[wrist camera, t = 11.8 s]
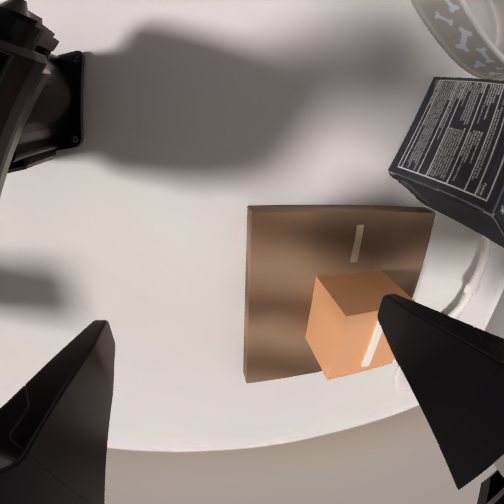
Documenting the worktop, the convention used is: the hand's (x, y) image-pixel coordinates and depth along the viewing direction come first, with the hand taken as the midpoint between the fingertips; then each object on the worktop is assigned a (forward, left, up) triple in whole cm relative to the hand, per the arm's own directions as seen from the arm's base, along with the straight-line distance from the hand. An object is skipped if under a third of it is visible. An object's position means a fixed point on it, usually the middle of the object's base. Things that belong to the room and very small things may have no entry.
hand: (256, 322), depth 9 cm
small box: (-6, +18, -12) cm, 23 cm away
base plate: (+8, +10, -12) cm, 18 cm away
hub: (+8, +10, -10) cm, 17 cm away
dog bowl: (-23, +23, -12) cm, 35 cm away
